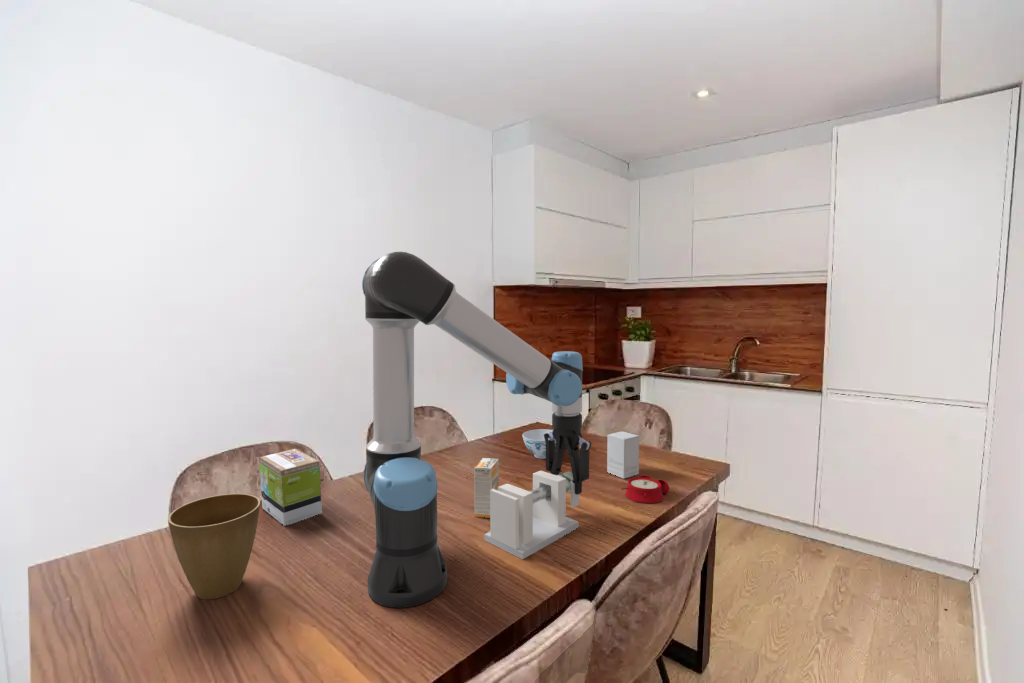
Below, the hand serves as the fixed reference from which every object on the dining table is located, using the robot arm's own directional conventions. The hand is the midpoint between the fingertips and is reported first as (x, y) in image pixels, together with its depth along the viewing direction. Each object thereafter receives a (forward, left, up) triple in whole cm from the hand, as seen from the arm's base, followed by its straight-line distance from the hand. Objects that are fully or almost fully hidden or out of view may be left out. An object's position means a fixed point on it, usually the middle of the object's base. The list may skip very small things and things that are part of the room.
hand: (566, 502), depth 123 cm
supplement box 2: (+37, +6, -4) cm, 38 cm away
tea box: (-48, +54, -4) cm, 72 cm away
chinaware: (+33, +36, -4) cm, 49 cm away
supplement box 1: (-12, +17, -4) cm, 21 cm away
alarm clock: (+27, -8, -4) cm, 28 cm away
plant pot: (-71, +29, -4) cm, 77 cm away
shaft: (-10, 0, +3) cm, 10 cm away
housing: (-13, 0, -4) cm, 14 cm away
